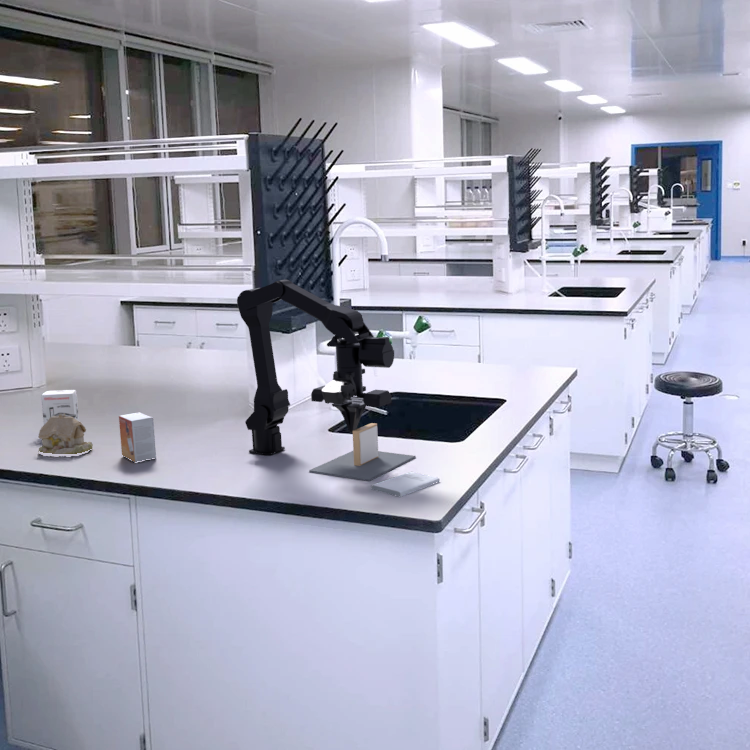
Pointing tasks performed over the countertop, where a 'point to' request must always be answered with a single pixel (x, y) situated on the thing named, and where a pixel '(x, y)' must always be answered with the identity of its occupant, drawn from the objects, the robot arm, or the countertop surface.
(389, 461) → the mat
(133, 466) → the countertop surface
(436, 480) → the external hard drive
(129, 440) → the small box
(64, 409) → the ink box
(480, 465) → the countertop surface
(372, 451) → the tile
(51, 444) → the ceramic model
